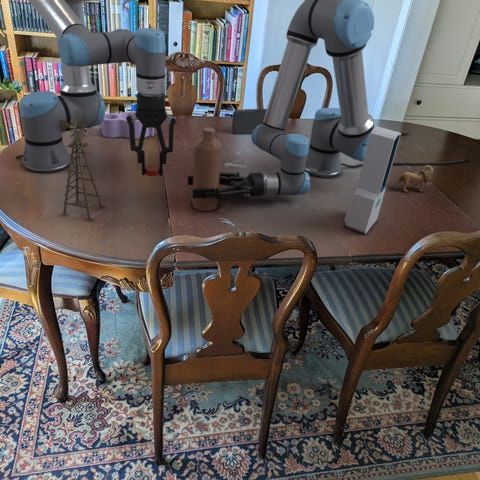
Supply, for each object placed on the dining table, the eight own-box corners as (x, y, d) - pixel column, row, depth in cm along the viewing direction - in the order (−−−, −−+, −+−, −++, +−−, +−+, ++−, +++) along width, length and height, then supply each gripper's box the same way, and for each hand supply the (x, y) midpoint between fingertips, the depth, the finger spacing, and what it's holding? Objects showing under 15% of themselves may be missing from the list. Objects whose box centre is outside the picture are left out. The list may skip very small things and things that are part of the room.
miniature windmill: (89, 220, 131) (79, 116, 115) (61, 215, 132) (47, 111, 116) (103, 206, 139) (96, 106, 123) (77, 201, 140) (66, 101, 124)
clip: (103, 139, 182) (102, 122, 178) (101, 128, 192) (100, 111, 188) (155, 138, 188) (155, 121, 184) (150, 127, 198) (149, 111, 194)
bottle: (202, 213, 141) (207, 136, 128) (186, 202, 146) (189, 127, 133) (222, 206, 146) (228, 131, 133) (206, 196, 151) (211, 122, 137)
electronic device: (365, 235, 139) (392, 139, 122) (341, 227, 142) (364, 132, 125) (378, 219, 148) (404, 128, 131) (355, 211, 151) (379, 121, 134)
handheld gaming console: (279, 130, 209) (282, 108, 204) (281, 132, 207) (285, 110, 202) (230, 131, 202) (232, 109, 197) (232, 134, 200) (234, 111, 195)
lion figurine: (421, 184, 174) (428, 162, 169) (430, 191, 169) (438, 168, 165) (388, 187, 169) (395, 164, 164) (397, 194, 165) (404, 171, 160)
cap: (163, 173, 136) (163, 167, 135) (152, 178, 133) (152, 172, 132) (152, 168, 139) (152, 162, 138) (141, 173, 136) (141, 167, 135)
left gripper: (115, 95, 119) (120, 178, 132) (184, 98, 122) (182, 180, 134) (118, 87, 126) (123, 167, 138) (183, 90, 128) (182, 169, 140)
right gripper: (270, 211, 141) (196, 215, 135) (251, 180, 158) (184, 182, 152) (273, 188, 137) (197, 191, 131) (253, 160, 154) (185, 161, 148)
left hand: (152, 173), depth 136 cm, fingers closed on cap, 4 cm apart
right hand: (190, 187), depth 141 cm, fingers closed on bottle, 8 cm apart
